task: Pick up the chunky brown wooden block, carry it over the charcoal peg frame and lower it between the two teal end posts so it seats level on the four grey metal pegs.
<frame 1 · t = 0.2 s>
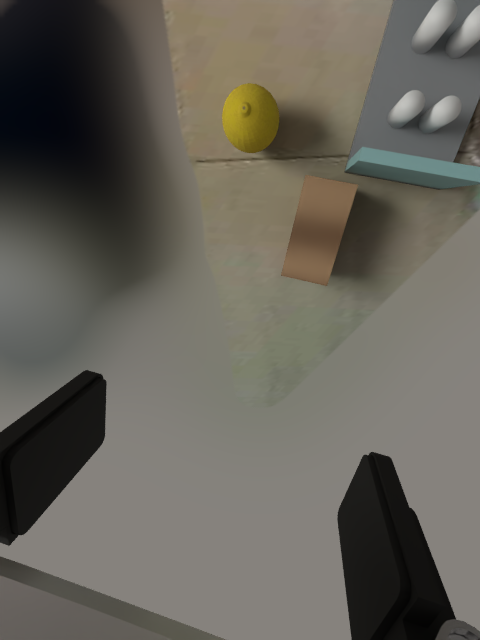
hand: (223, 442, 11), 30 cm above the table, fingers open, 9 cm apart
brown wooden block: (314, 229, 36), on the table
lemon: (256, 130, 33), on the table
peg frame: (422, 86, 29), on the table
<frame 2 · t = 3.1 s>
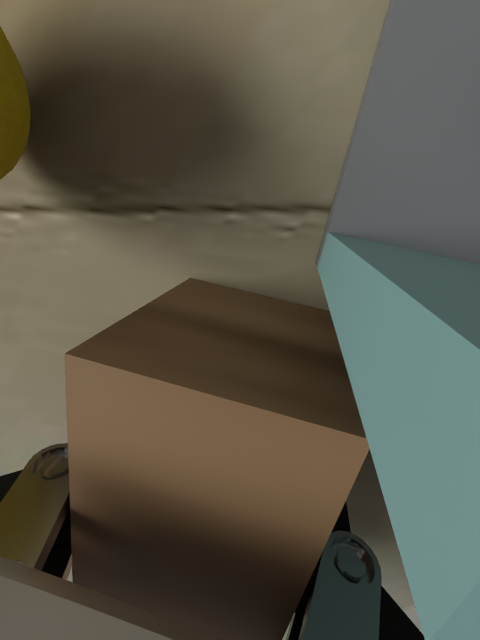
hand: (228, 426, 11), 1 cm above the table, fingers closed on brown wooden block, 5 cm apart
brown wooden block: (233, 411, 12), on the table, touching gripper
lemon: (20, 115, 10), on the table
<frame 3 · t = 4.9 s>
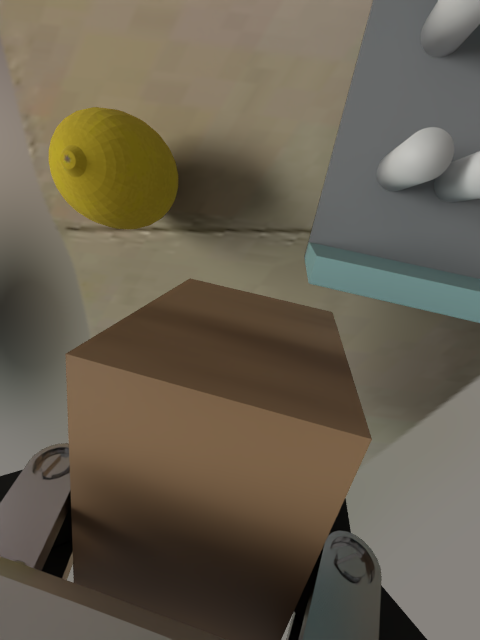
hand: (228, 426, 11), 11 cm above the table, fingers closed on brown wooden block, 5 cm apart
brown wooden block: (233, 411, 12), point 10 cm above the table, touching gripper
lemon: (156, 183, 20), on the table
peg frame: (441, 117, 16), on the table
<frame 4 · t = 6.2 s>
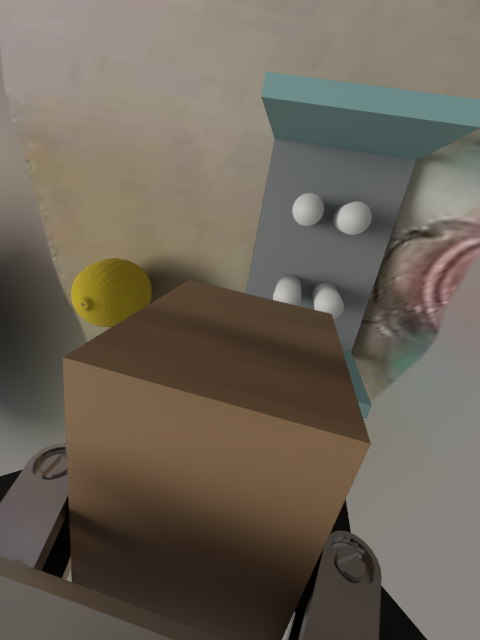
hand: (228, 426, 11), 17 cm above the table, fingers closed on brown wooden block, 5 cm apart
brown wooden block: (232, 413, 12), point 16 cm above the table, touching gripper
lemon: (140, 282, 29), on the table
peg frame: (315, 252, 25), on the table
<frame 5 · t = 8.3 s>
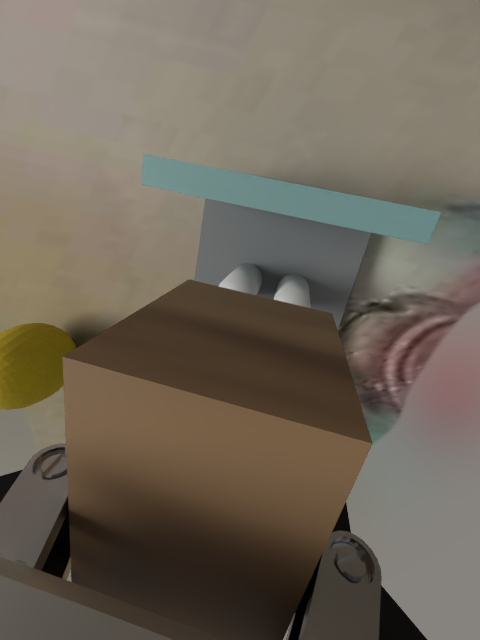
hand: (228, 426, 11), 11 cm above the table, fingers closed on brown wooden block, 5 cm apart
brown wooden block: (233, 413, 12), point 10 cm above the table, touching gripper
lemon: (70, 339, 25), on the table
peg frame: (261, 320, 21), on the table
when the fingers open (7 cm above the table, at t = 9.6 s): brown wooden block drops 1 cm, resting on peg frame.
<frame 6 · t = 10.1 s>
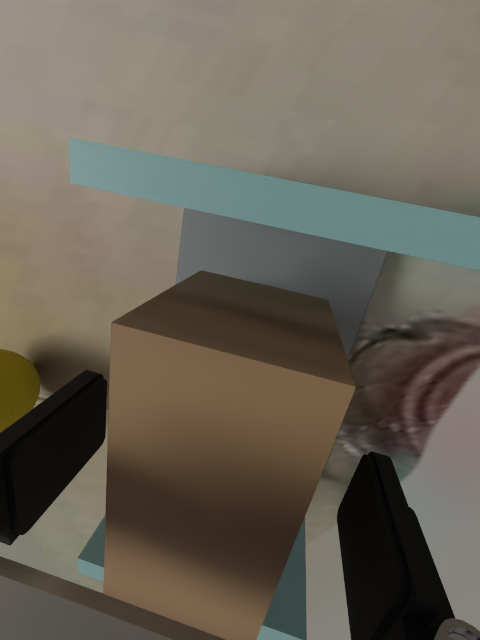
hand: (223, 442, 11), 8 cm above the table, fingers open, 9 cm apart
brown wooden block: (239, 392, 13), point 5 cm above the table, touching peg frame
lemon: (34, 364, 22), on the table
peg frame: (255, 347, 18), on the table
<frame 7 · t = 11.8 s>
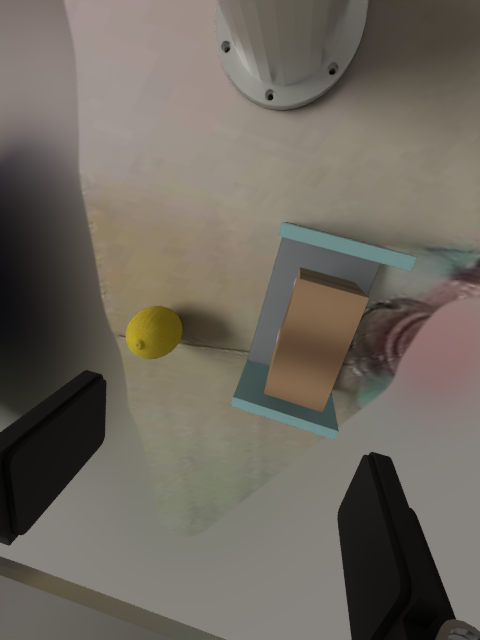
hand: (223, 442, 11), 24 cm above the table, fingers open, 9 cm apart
brown wooden block: (309, 324, 29), point 5 cm above the table, touching peg frame
lemon: (170, 320, 37), on the table
peg frame: (308, 311, 33), on the table
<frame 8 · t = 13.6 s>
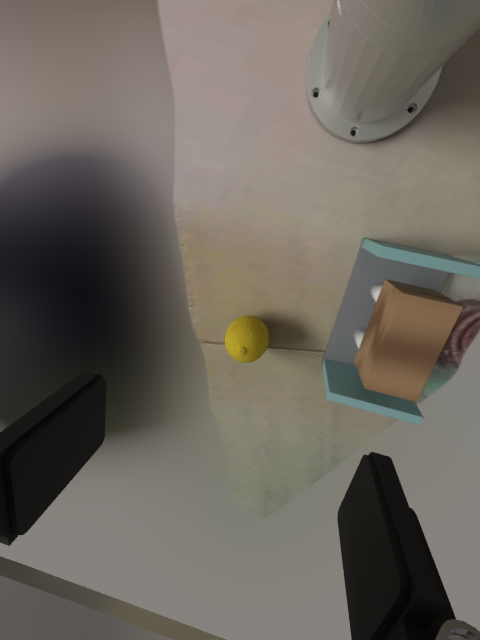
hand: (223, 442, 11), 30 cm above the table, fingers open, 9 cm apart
brown wooden block: (391, 327, 33), point 5 cm above the table, touching peg frame
lemon: (252, 326, 42), on the table
peg frame: (380, 314, 38), on the table
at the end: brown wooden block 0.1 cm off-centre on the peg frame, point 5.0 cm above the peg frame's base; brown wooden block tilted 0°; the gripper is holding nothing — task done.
